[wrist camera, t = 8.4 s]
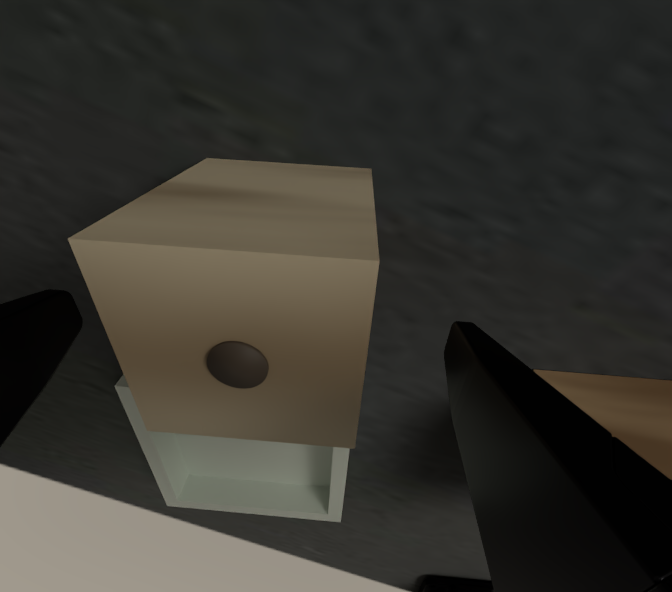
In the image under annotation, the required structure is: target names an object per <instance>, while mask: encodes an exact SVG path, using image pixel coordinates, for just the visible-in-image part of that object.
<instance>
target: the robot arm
mask: <svg viewBox="0 0 672 592" xmlns="http://www.w3.org/2000/svg"><path fill="white" fill-rule="evenodd" d="M82 323H83V321H82V317H81V315H80V312H79V310H78V308H77V306H76V303H75V301H74V299H73V297H72V295H71V294H70V293H69V292H67V291H64V290H51V289H50V290H44V291H41V292H38V293H35V294H31V295H28V296H25V297H22V298H19V299H15V300H12V301H9V302H6V303H3V304H0V447H1V446H2V444H3V443H4V442H5V440H6V439H7V438H8V436H9V435H10V434H11V432H12V431H13V430H14V428H15V427H16V426H17V424H18V423H19V422H20V420H21V419H22V418H23V416H24V415H25V414H26V412H27V411H28V409H29V408H30V407H31V405H32V404H33V403H34V401H35V400H36V399H37V397H38V396H39V395H40V393H41V392H42V391H43V389H44V388H45V386H46V385H47V384H48V382H49V381H50V379H51V377H52V376H53V374H54V373H55V371H56V369H57V368H58V366H59V364H60V363H61V361H62V360H63V358H64V356H65V355H66V353H67V351H68V350H69V348H70V346H71V345H72V343H73V341H74V340H75V338H76V336H77V335H78V333H79V331H80V330H81V328H82ZM444 360H445V369H446V377H447V385H448V393H449V401H450V409H451V416H452V421H453V426H454V430H455V434H456V438H457V442H458V446H459V450H460V454H461V458H462V462H463V466H464V471H465V475H466V479H467V483H468V487H469V491H470V495H471V499H472V503H473V507H474V511H475V515H476V519H477V523H478V527H479V531H480V535H481V540H482V544H483V548H484V552H485V556H486V560H487V564H488V568H489V572H490V576H491V580H492V583H484V582H474V581H464V580H453V579H443V578H433V577H430V578H426V579H425V580H424V582H423V584H422V586H421V588H420V590H419V592H672V480H671V479H669V478H668V477H667V476H665V475H664V474H663V473H662V472H660V471H659V470H658V469H656V468H655V467H654V466H652V465H651V464H650V463H649V462H647V461H646V460H645V459H643V458H642V457H641V456H640V455H638V454H637V453H636V452H634V451H633V450H632V449H631V448H629V447H628V446H627V445H626V444H624V443H623V442H622V441H621V440H619V439H618V438H617V437H612V434H611V433H610V432H609V431H608V430H607V429H605V428H604V427H603V426H602V425H600V424H599V423H598V422H597V421H595V420H594V419H593V418H592V417H590V416H589V415H588V414H587V413H585V412H584V411H583V410H582V409H580V408H579V407H578V406H577V405H575V404H574V403H573V402H572V401H570V400H569V399H568V398H567V397H565V396H564V395H563V394H562V393H560V392H559V391H558V390H556V389H555V388H554V387H553V386H551V385H550V384H549V383H548V382H546V381H545V380H544V379H543V378H541V377H540V376H539V375H538V374H536V373H535V372H534V371H533V370H531V369H530V368H529V367H528V366H526V365H525V364H524V363H523V362H521V361H520V360H519V359H518V358H516V357H515V356H514V355H513V354H511V353H510V352H509V351H508V350H506V349H505V348H504V347H503V346H501V345H500V344H499V343H498V342H496V341H495V340H494V339H493V338H491V337H490V336H489V335H487V334H486V333H485V332H484V331H482V330H481V329H480V328H479V327H477V326H476V325H475V324H473V323H471V322H460V321H456V322H454V323H453V324H452V326H451V329H450V333H449V336H448V339H447V343H446V346H445V350H444Z"/></svg>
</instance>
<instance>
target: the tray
mask: <svg viewBox="0 0 672 592" xmlns="http://www.w3.org/2000/svg"><path fill="white" fill-rule="evenodd" d="M115 389H116V391H117V393H118V395H119V398H120V400H121V402H122V404H123V407H124V409H125V411H126V413H127V416H128V418H129V420H130V423H131V425H132V427H133V429H134V432H135V434H136V436H137V438H138V441H139V443H140V445H141V447H142V450H143V452H144V454H145V456H146V459H147V461H148V463H149V466H150V468H151V470H152V472H153V475H154V477H155V479H156V481H157V484H158V486H159V488H160V490H161V493H162V495H163V497H164V499H165V502H166V504H167V506H175V507H185V508H196V509H206V510H217V511H228V512H238V513H249V514H260V515H270V516H281V517H291V518H302V519H313V520H323V521H334V522H341V515H342V507H343V499H344V491H345V483H346V474H347V466H348V458H349V450H350V448H339V447H328V446H316V445H304V444H293V443H281V442H270V441H258V440H247V439H235V438H224V437H212V436H200V435H189V434H177V433H166V432H154V431H147V429H146V427H145V425H144V422H143V420H142V417H141V415H140V412H139V410H138V408H137V405H136V403H135V400H134V398H133V396H132V393H131V391H130V388H129V386H128V383H127V381H126V379H125V376H124V374H123V376H122V377H121V378H120V379H119V381H118V382H117V383H116V385H115Z"/></svg>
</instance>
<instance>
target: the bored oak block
mask: <svg viewBox="0 0 672 592" xmlns="http://www.w3.org/2000/svg"><path fill="white" fill-rule="evenodd" d="M533 371H534V372H535V373H536V374H538V375H539V376H540V377H541V378H543V379H544V380H545V381H546V382H548V383H549V384H550V385H551V386H553V387H554V388H555V389H556V390H558V391H559V392H560V393H562V394H563V395H564V396H565V397H567V398H568V399H569V400H570V401H572V402H573V403H574V404H575V405H577V406H578V407H579V408H580V409H582V410H583V411H584V412H585V413H587V414H588V415H589V416H590V417H592V418H593V419H594V420H595V421H597V422H598V423H599V424H600V425H602V426H603V427H604V428H605V429H607V430H608V431H609V432H610V433H611V434H612V437H617V438H618V439H619V440H621V441H622V442H623V443H624V444H626V445H627V446H628V447H629V448H631V449H632V450H633V451H634V452H636V453H637V454H638V455H640V456H641V457H642V458H643V459H645V460H646V461H647V462H649V463H650V464H651V465H652V466H654V467H655V468H656V469H658V470H659V471H660V472H662V473H663V474H664V475H665V476H667V477H668V478H669V479H671V480H672V381H670V380H658V379H645V378H633V377H621V376H609V375H596V374H584V373H572V372H560V371H547V370H535V369H533Z"/></svg>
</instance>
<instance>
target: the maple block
mask: <svg viewBox="0 0 672 592" xmlns="http://www.w3.org/2000/svg"><path fill="white" fill-rule="evenodd" d="M68 241H69V243H70V246H71V248H72V250H73V253H74V255H75V258H76V260H77V263H78V265H79V267H80V270H81V272H82V275H83V277H84V280H85V282H86V284H87V287H88V289H89V292H90V294H91V296H92V299H93V301H94V304H95V306H96V309H97V311H98V313H99V316H100V318H101V321H102V323H103V325H104V328H105V330H106V333H107V335H108V338H109V340H110V342H111V345H112V347H113V350H114V352H115V354H116V357H117V359H118V362H119V364H120V367H121V369H122V371H123V374H124V376H125V379H126V381H127V383H128V386H129V388H130V391H131V393H132V396H133V398H134V400H135V403H136V405H137V408H138V410H139V412H140V415H141V417H142V420H143V422H144V425H145V427H146V429H147V431H154V432H166V433H177V434H189V435H200V436H212V437H224V438H235V439H247V440H258V441H270V442H281V443H293V444H304V445H316V446H328V447H339V448H351V449H355V443H356V436H357V428H358V420H359V413H360V405H361V397H362V390H363V382H364V375H365V367H366V359H367V352H368V344H369V337H370V329H371V321H372V314H373V306H374V298H375V291H376V283H377V276H378V268H379V251H378V239H377V228H376V217H375V206H374V194H373V183H372V172H371V169H367V168H351V167H336V166H320V165H305V164H289V163H274V162H258V161H243V160H227V159H212V158H206V159H205V160H203V161H201V162H199V163H198V164H196V165H194V166H193V167H191V168H189V169H187V170H186V171H184V172H182V173H180V174H179V175H177V176H175V177H173V178H172V179H170V180H168V181H167V182H165V183H163V184H161V185H160V186H158V187H156V188H154V189H153V190H151V191H149V192H148V193H146V194H144V195H142V196H141V197H139V198H137V199H135V200H134V201H132V202H130V203H129V204H127V205H125V206H123V207H122V208H120V209H118V210H116V211H115V212H113V213H111V214H110V215H108V216H106V217H104V218H103V219H101V220H99V221H97V222H96V223H94V224H92V225H91V226H89V227H87V228H85V229H84V230H82V231H80V232H78V233H77V234H75V235H73V236H71V237H70V238H68Z"/></svg>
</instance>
